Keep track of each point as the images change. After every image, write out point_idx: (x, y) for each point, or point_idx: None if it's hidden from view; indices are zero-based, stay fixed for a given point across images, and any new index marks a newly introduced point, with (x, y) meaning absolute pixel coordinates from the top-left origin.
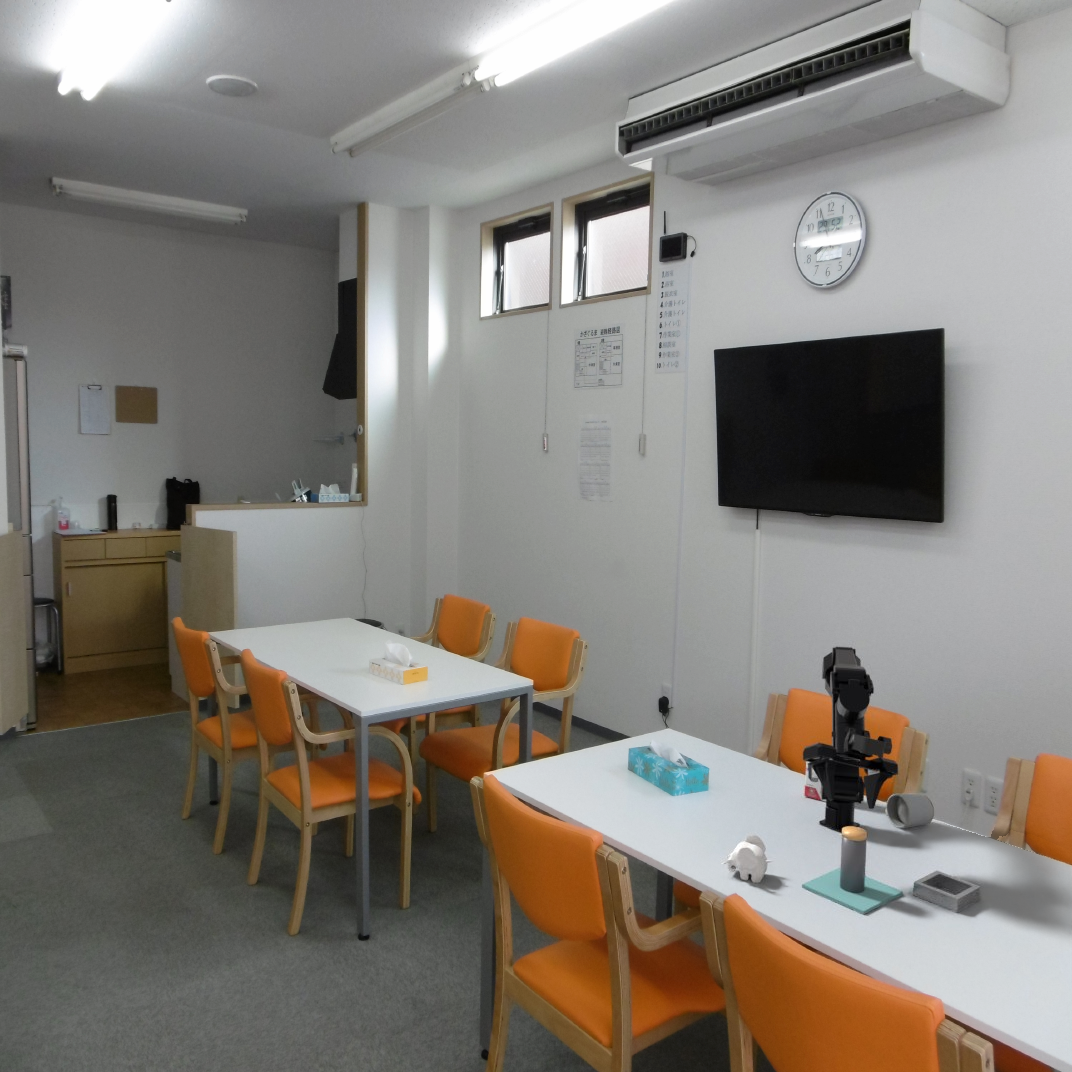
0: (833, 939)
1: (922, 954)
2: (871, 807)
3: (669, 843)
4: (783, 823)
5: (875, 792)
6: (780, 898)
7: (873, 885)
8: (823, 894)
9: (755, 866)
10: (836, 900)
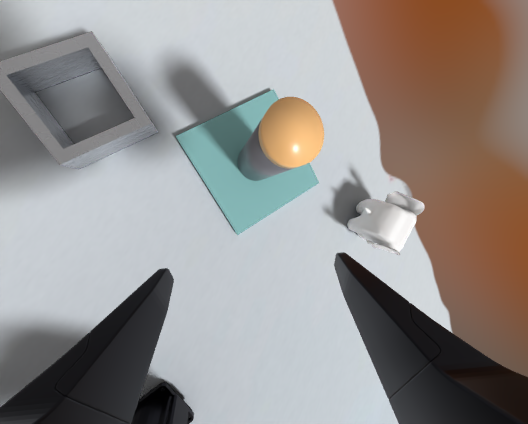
0: (336, 44)
1: None
2: (167, 272)
3: None
4: (254, 402)
5: (117, 325)
6: (352, 158)
7: (217, 164)
8: None
9: (387, 196)
10: None
